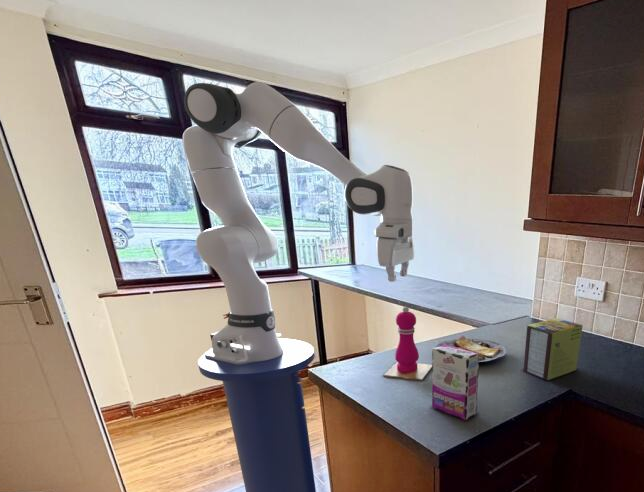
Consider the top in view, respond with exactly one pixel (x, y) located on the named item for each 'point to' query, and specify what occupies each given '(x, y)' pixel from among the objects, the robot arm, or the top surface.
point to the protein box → (552, 348)
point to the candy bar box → (455, 381)
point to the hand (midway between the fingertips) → (398, 278)
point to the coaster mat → (417, 375)
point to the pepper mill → (406, 342)
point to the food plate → (478, 347)
